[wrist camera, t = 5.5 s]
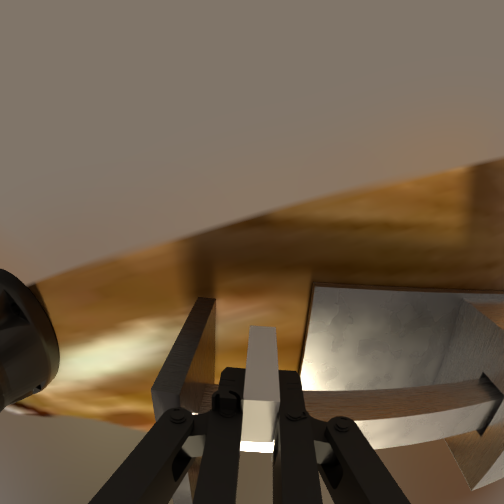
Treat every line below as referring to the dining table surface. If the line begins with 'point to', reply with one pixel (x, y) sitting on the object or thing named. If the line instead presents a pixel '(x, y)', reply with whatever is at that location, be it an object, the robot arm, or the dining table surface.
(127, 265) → the dining table surface
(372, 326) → the block
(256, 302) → the dining table surface
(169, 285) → the dining table surface
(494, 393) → the grey crossbar bracket
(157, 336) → the dining table surface
